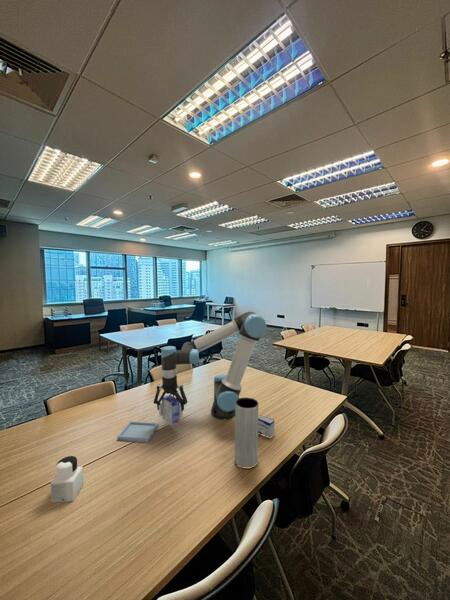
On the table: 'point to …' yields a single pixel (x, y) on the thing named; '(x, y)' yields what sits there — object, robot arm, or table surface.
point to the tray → (138, 431)
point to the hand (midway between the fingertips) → (171, 416)
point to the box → (265, 426)
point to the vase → (246, 432)
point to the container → (66, 480)
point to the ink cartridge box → (170, 409)
